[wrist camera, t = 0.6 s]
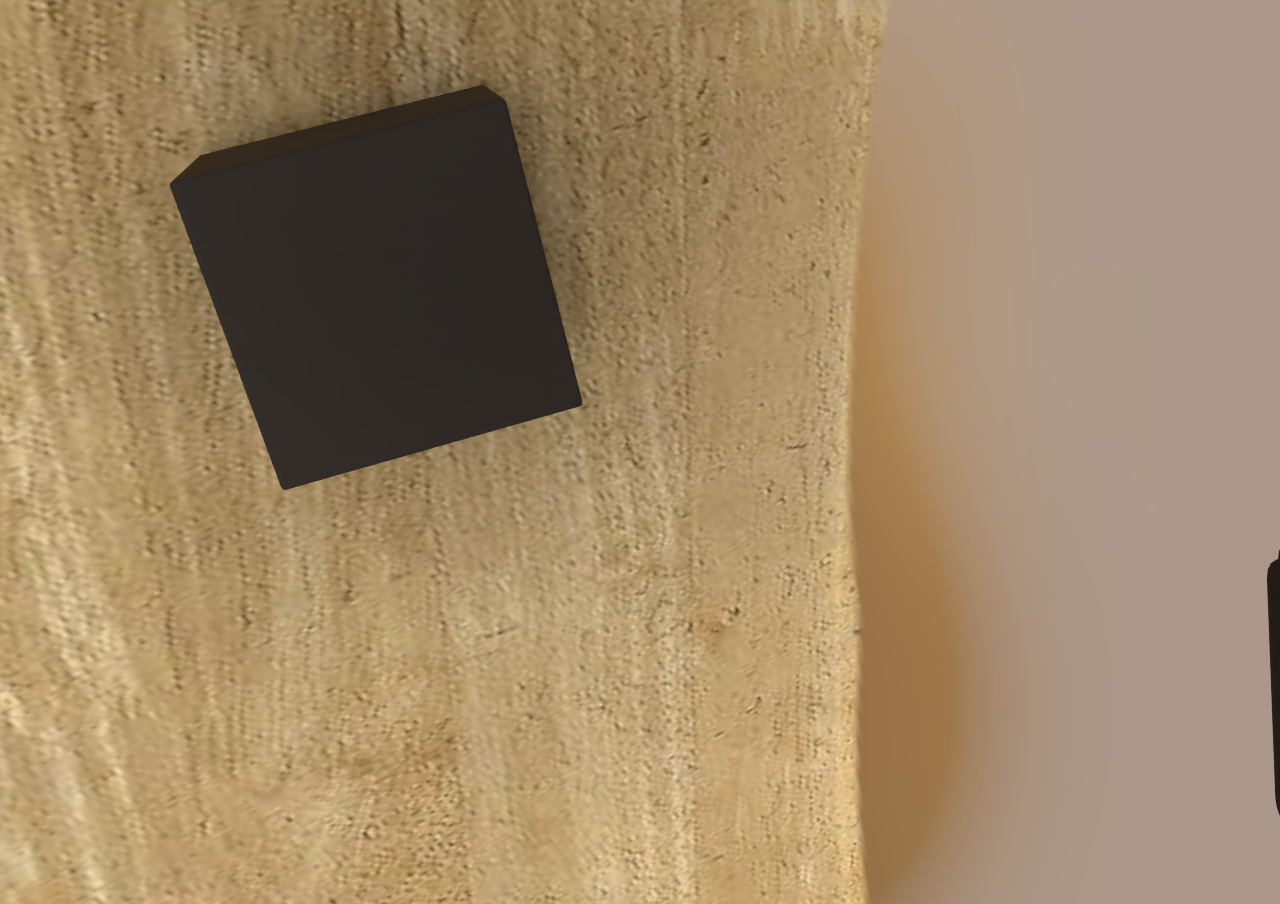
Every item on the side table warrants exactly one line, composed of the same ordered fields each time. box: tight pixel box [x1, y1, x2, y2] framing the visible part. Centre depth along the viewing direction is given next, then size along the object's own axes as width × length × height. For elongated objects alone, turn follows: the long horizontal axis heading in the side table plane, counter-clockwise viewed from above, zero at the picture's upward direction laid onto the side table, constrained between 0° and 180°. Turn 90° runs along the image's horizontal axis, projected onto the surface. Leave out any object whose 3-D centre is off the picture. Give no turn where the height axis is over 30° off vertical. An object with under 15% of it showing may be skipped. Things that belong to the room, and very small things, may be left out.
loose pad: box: [170, 85, 582, 490], centre depth 24 cm, size 6×6×4 cm
